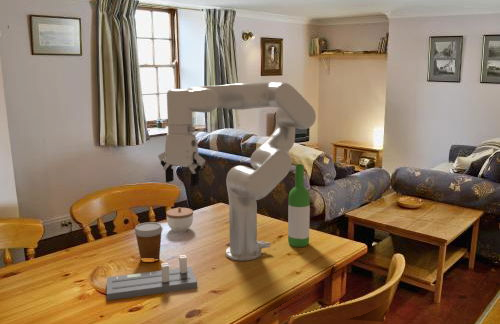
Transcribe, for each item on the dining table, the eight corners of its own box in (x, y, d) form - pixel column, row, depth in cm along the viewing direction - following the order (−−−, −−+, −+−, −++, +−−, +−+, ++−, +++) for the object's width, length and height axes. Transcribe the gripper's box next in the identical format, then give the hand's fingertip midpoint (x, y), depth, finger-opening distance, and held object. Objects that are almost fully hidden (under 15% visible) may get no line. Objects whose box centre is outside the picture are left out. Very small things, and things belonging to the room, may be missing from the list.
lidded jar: (191, 234, 186) (191, 211, 184) (164, 234, 186) (163, 212, 184) (195, 225, 196) (194, 203, 194) (169, 225, 196) (168, 203, 194)
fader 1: (168, 278, 143) (167, 262, 142) (169, 281, 141) (168, 265, 140) (161, 278, 143) (161, 263, 142) (162, 282, 140) (161, 266, 139)
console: (191, 272, 152) (191, 266, 152) (197, 287, 142) (197, 281, 142) (107, 283, 145) (107, 277, 145) (107, 300, 135) (106, 293, 135)
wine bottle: (288, 239, 180) (289, 162, 173) (309, 240, 178) (310, 163, 172) (287, 247, 172) (287, 167, 166) (308, 248, 171) (310, 167, 165)
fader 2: (186, 269, 149) (185, 254, 148) (187, 272, 147) (186, 257, 146) (179, 270, 149) (179, 255, 147) (180, 273, 146) (180, 258, 145)
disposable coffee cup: (157, 266, 157) (156, 232, 155) (131, 264, 159) (129, 230, 157) (168, 254, 166) (166, 222, 164) (142, 252, 168) (141, 220, 166)
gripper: (210, 129, 145) (211, 184, 148) (165, 126, 153) (167, 177, 156) (196, 133, 138) (198, 189, 142) (150, 129, 146) (152, 182, 150)
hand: (182, 183), depth 149 cm, fingers open, 9 cm apart
